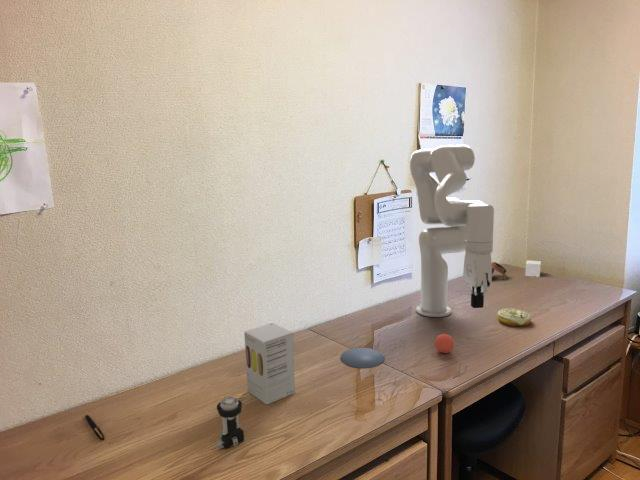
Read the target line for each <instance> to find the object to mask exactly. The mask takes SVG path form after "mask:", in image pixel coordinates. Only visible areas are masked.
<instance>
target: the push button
mask: <svg viewBox="0 0 640 480" xmlns="http://www.w3.org/2000/svg"><path fill="white" fill-rule="evenodd" d="M242 407H243V403H242V401H241V400H239V399H238V398H237V397H234V396H227V397H224V398H222V399H221V400H220V402H218V403H217V405H216V411H217V413H218V415H219V416H220V417H221V420H222V421H221V422H222V431H221V434H220V436H219V438H220V441H218V442H216V443H215V444H214V445H215V446H216V447H215V449H216V450H220V449H223V448H224V449H226V450H227V449H229V448H231V447H232V446H233V447H236V446H237V445H238V443H242V442H244V441H245V434H244V432H245V431H244V429H242V428H241V425H240V423H239V419H240V418H239V414H241V412H242Z"/></svg>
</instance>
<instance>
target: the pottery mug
mask: <svg viewBox="0 0 640 480" xmlns="http://www.w3.org/2000/svg"><path fill="white" fill-rule="evenodd" d="M495 271H496V272H498V273H500V274H502V276H501V280H504V279H505V278H506V273H507V269H506V268H505V267H504V266H503V265H501V264H499V263H497V262H495V261H492V275H493V274H494V273H495Z"/></svg>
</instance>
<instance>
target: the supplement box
mask: <svg viewBox="0 0 640 480" xmlns="http://www.w3.org/2000/svg"><path fill="white" fill-rule="evenodd" d="M243 336H244V350H245V364H246V365H245V369H246V386H247V388H246V389H247V392H249V394H251V395H252V396H254V397H255V398H257V399H258V400H259V401H261V402H262V403H263V404H265V405H269V404H272V403H273V402H276V401H279V400H281V399H283V398H286V397H289V396H290V395H292V394H295V393H296V376H295V375H296V374H295V373H296V371H295V350H294V348H295V347H294V332H293V331H290V330H288V329H286V328H284V327H282V326H280V325H278V324H276V323H274V322H272V323H271V322H270V323H267V324H265V325H262V326H261V325H260V326H258V327H254V328H252V329H251V328H250V329H248V330H244V334H243Z"/></svg>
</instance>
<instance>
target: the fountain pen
mask: <svg viewBox="0 0 640 480" xmlns="http://www.w3.org/2000/svg"><path fill="white" fill-rule="evenodd" d="M84 416H85V417H84V418H85V419H86V421H87V423H88V424H89V426H90V427H91V429H92V430H93V433H94V434H95V435H96V436H97V437H98V438H99V439H100V440H101V441H104V440H105V436H104V434H103V432H102V430H101V428H100V427H99V426H98V425H97V423H96V422H95V421H94V420H93V419H92V418H91V416H90V415H89V414H87V413H84Z"/></svg>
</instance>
